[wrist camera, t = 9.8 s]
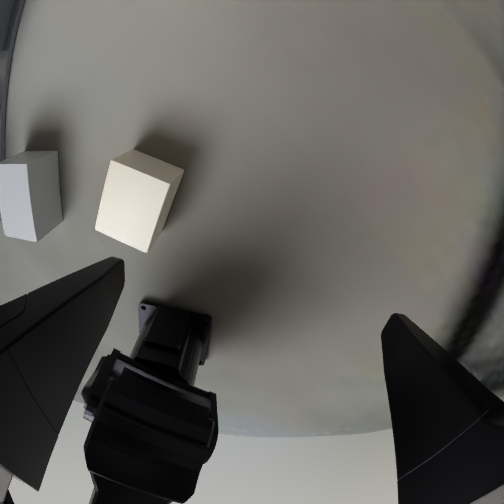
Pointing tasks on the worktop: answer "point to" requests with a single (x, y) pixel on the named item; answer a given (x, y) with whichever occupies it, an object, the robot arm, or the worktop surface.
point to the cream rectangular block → (137, 198)
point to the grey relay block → (30, 194)
